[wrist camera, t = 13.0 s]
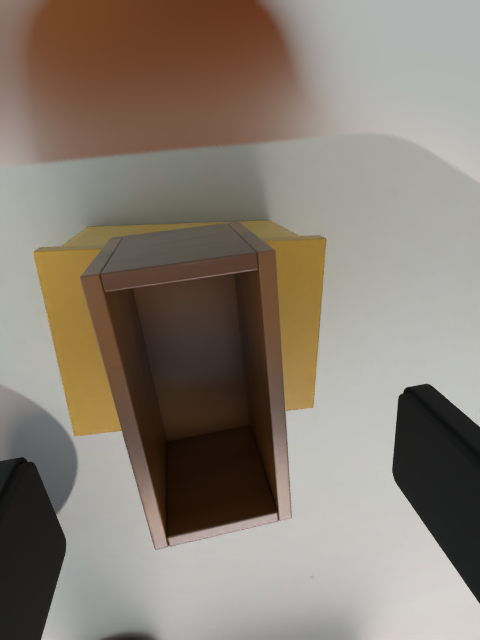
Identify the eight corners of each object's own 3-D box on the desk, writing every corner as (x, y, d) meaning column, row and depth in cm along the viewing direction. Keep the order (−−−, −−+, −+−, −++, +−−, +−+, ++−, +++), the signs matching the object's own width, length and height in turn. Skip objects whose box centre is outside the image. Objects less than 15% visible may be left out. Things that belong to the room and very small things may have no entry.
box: (274, 215, 23) (326, 238, 16) (271, 338, 27) (313, 408, 19) (80, 221, 22) (32, 251, 14) (102, 353, 25) (74, 436, 17)
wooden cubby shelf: (110, 237, 14) (78, 277, 9) (238, 220, 15) (276, 249, 10) (158, 443, 18) (154, 550, 13) (258, 423, 19) (292, 518, 14)
